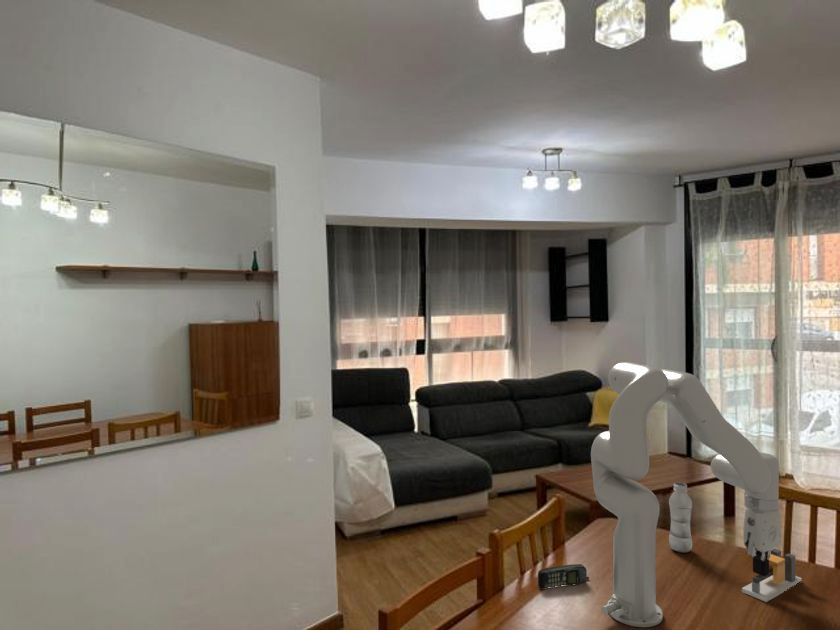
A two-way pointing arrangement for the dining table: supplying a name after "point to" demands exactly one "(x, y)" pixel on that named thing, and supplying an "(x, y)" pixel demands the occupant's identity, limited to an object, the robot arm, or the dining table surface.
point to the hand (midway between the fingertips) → (760, 573)
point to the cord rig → (766, 587)
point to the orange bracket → (777, 568)
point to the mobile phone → (562, 575)
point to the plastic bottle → (680, 519)
